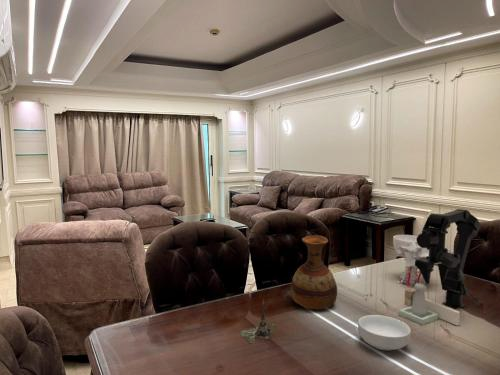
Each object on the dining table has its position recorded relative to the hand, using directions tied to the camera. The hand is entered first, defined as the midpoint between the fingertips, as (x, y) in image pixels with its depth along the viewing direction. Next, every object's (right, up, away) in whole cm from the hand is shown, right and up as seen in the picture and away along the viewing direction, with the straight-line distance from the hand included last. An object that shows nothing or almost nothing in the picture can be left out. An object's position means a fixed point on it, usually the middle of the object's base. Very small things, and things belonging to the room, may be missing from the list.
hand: (434, 282), depth 150 cm
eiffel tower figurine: (-71, -14, -19) cm, 75 cm away
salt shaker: (-8, -13, -3) cm, 15 cm away
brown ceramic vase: (-48, -12, +9) cm, 50 cm away
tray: (-8, -13, -3) cm, 16 cm away
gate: (-1, -13, -1) cm, 13 cm away
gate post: (-6, -12, +9) cm, 17 cm away
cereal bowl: (-30, -15, -26) cm, 42 cm away
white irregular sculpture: (+8, -11, +38) cm, 40 cm away
